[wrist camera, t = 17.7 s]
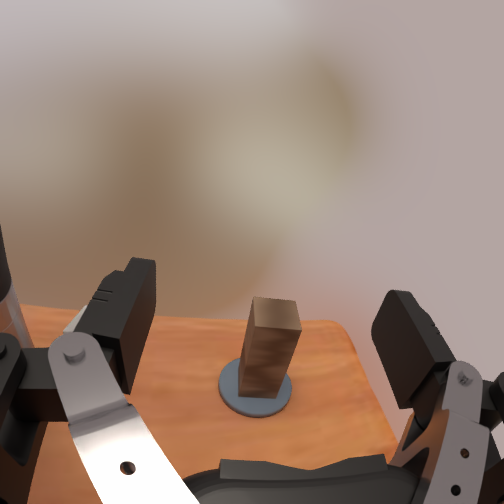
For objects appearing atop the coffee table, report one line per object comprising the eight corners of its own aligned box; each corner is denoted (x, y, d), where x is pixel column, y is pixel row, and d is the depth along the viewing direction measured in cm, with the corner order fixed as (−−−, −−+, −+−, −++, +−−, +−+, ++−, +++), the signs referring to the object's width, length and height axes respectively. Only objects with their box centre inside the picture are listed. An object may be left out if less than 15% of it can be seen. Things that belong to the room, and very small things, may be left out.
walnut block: (238, 396, 39) (254, 326, 32) (238, 368, 43) (253, 296, 37) (275, 398, 39) (301, 329, 33) (273, 370, 43) (295, 300, 37)
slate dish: (230, 424, 36) (231, 419, 35) (210, 366, 44) (211, 361, 43) (300, 408, 39) (303, 403, 39) (274, 357, 47) (275, 352, 47)
